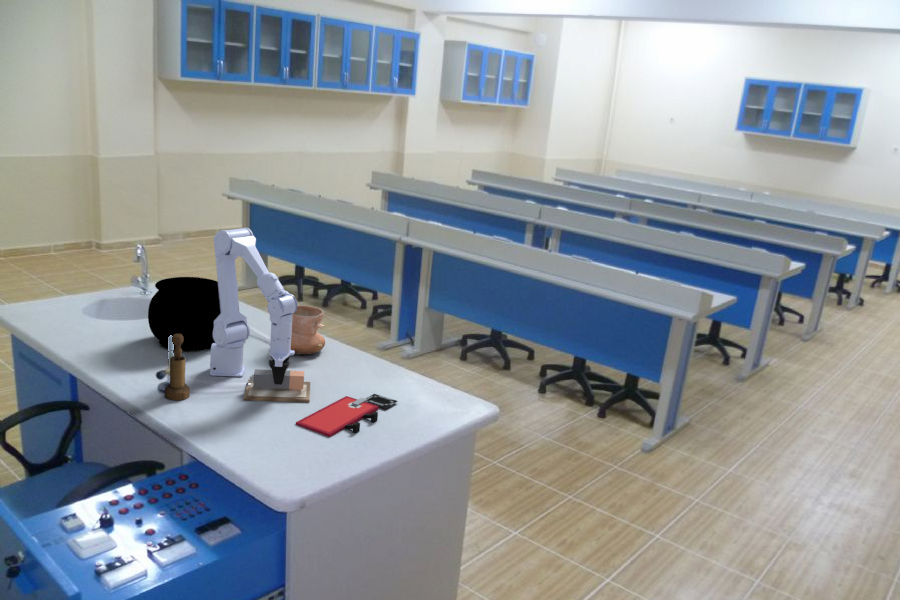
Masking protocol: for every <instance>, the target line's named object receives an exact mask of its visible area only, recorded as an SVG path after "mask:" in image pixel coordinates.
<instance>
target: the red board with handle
mask: <svg viewBox="0 0 900 600" xmlns="http://www.w3.org/2000/svg"><path fill="white" fill-rule="evenodd" d="M398 402H399V401H398V400H396V399H393V398H389V397H386V396H383V395H380V394H377V393H376V394H375V393H373V394H371V395H369V396H367V397H365V398H364V397H360V398H358V399H357V398H354V397H351V396H348V395H345V396H344V397H342V398H340V399H338V400H335V401H334V402H332V403H330V404H328V405H326V406H324V407H322V408H321V409H318V410H316V411H314V412H313V413H311V414H309V415H307V416H305V417H302V419H299V420H297V421H296V422H295V426H296V425H297V426H298V427H302V428H303V429H304V428H305V429H307V430H309V431H312V432H315V433H318V434H320V435H323V436H325V437H329V438H331V437H332V436H335V435H336V434H338V433H339V432H341V431H343V430H352V433H353V434H357V433H359V432H360V430H361V428H360V427H361V422H360V421H361V420H362V419H370V423H373V424H375V423H376V422H378V419H379V418H378V415H379V412H377V411H379V408H380V407H381V408H383V409H387V408H389V407H391V406H393V405H394V404H396V403H398Z"/></svg>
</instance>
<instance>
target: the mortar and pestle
mask: <svg viewBox="0 0 900 600" xmlns="http://www.w3.org/2000/svg"><path fill="white" fill-rule="evenodd" d="M183 340H184V338H183V336H182V335H181V334H174V335H173V337H172V342H173V344H174V345H175V349H174V350H172V352H173V356H170V357H169V384H168V385H166V386H165V387H164V398H165V399H168V400H171V401H182V400H186V399H189V398H190V393H191V391H190V390H191V389H190V386H189V385H187V383H186V357H185V356H182V354H183V353H182V349H181V344H182V343H183Z"/></svg>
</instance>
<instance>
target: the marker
mask: <svg viewBox="0 0 900 600" xmlns="http://www.w3.org/2000/svg"><path fill="white" fill-rule="evenodd" d="M248 380H249V382H253V387H254V388H282V389H303V386H304V382H305V371H304V370H287V369H286V372H285V375H284V379H283V383H282V385H279V384H274V379H273V373H272V369H264V368H263V369H260V368H259V369H257V368H255V369H254V373H252V374H249V379H248Z"/></svg>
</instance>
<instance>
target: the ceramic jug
mask: <svg viewBox="0 0 900 600" xmlns="http://www.w3.org/2000/svg"><path fill="white" fill-rule="evenodd" d="M323 318H324V310H323V309H322V308H319V307H314V306H310V305H302V304H301V305H300V304H299V305H298V304H297V310H296V312H295V313H293V314H292V332H291V350H293V351H295V353H294V354H296V355H297V354H298V355H313V354H316V353H318V352H320V351H322V350H323V349H324V347H325V345H326V340H325V337H324V336H323V335H321V334H320V333H319V332H317V331H318V329H320V330H323V328H325V327H326V326H325V325H324V324H322V323H321V322H322V321H323Z"/></svg>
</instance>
